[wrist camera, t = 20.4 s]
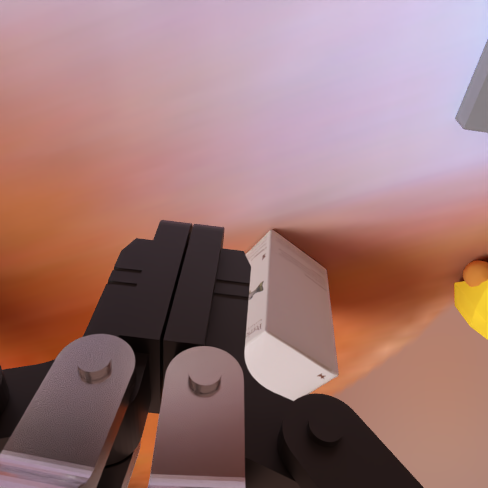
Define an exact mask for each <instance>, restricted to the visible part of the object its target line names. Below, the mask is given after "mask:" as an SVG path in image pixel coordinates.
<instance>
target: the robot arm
mask: <svg viewBox="0 0 488 488" xmlns="http://www.w3.org/2000/svg"><path fill="white" fill-rule="evenodd" d="M223 239H224V227H216V226H208V225H200V224H194V225H193V226H192V224H190V223H182V222H174V221H166V220H161V221H160V223H159V226H158V229H157V231H156V234H155V237H154V240H146V239H138V238H136V239H135V240H134V241H133V242H131V243H130V244H129V245H128V246H127V247H125V248H124V249H123V250H122V251H121V253H120V255H119V257H118V259H117V262H116V264H115V266H114V270H113V271H112V273H111V275H110V277H109V280H108V284H106V286H105V289H104V291H103V293H102V295H101V298H100V300H99V302H98V304H97V307H96V309H95V311H94V313H93V316H92V318H91V320H90V322H89V325H88V327H87V329H86V331H85V334H84V335H83V337H82V338H79V339H77V340H75V341H73V342H71V343H70V344H69V345H67V346H66V347H65V348H64V349H63V350H62V351H61V352H60V353H59V355H58V356H57V358H56V359H54V360H52V361H49V362H46V363H42V364H37V365H31V366H24V367H18V368H12V369H5V370H2V369H1V366H0V488H127V486H128V483H129V480H130V477H131V474H132V471H133V468H134V465H135V462H136V459H137V456H138V453H139V450H140V444H141V437H142V434H143V430H144V426H145V422H146V418H147V414H148V412H149V413H158V414H159V420H158V427H157V433H156V440H155V447H154V454H153V460H152V467H151V474H150V480H149V485H148V488H423V486H422V485H421V484H420V483H419V482H418V481H417V480H416V479H415V478H414V477H413V475H412V474H411V473H410V472H409V471H408V470H407V469H406V468H405V467H404V466H403V464H401V462H400V461H399V460H398V459H397V458H396V457H395V456H394V455H393V453H392V452H391V451H390V450H389V449H388V448H387V447H386V446H385V445H384V444H383V443H382V441H381V440H380V439H379V438H378V437H377V436H376V435H375V434H374V433H373V432H372V430H371V429H370V428H369V427H368V426H367V425H366V424H365V423H364V422H363V421H362V419H361V418H360V417H359V416H358V415H357V414H356V413H355V412H354V411H353V410H352V409H351V408H350V407H349V406H348V405H347V404H345V403H344V402H342V401H340V400H339V399H337V398H334V397H332V396H329V395H324V394H308V395H304V396H302V397H299V398H297V399H296V400H295V401H293V400H290V399H288V398H286V397H283V396H281V395H279V394H277V393H274V392H272V391H270V390H268V389H267V388H265V387H264V386H262V385H261V384H260V383H259V382H257V381H256V380H255V378H254V377H253V376H252V375H251V373H250V372H249V370H248V368H247V365H246V362H245V354H244V351H245V339H246V326H247V313H248V299H249V288H250V276H251V265H250V263H249V261H248V259H247V257H246V255H245V253H244V251H238V250H230V249H223Z"/></svg>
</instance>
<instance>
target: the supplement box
mask: <svg viewBox="0 0 488 488" xmlns="http://www.w3.org/2000/svg"><path fill="white" fill-rule="evenodd" d="M245 255H246V257H247V259H248V261H249V263H250V265H251V276H250V288H249V299H248V313H247V326H246V339H245V351H244V354H245V362H246V365H247V368H248V370H249V372H250V373H251V375H252V376H253V377H254V378H255V380H256V381H257V382H259V383H260V384H261V385H262V386H264V387H265V388H267V389H268V390H270V391H272V392H274V393H277V394H279V395H281V396H283V397H286V398H288V399H290V400H293V401H295V400H296V399H297V398H299V397H302V396H304V395H308V394H309V393H311V392H312V391H314V390H316V389H317V388H319V387H320V386H322V385H324V384H325V383H327V382H329V381H330V380H332V379H333V378H335V377H337V376H338V375H339V374H338V365H337V356H336V347H335V338H334V330H333V320H332V311H331V303H330V294H329V285H328V276H327V269H325V268H324V267H323V266H321V265H320V264H319V263H318V262H316V261H315V260H313V259H312V258H311V257H309V256H308V255H307V254H305V253H304V252H303V251H301V250H300V249H299V248H297V247H296V246H295V245H293V244H292V243H290V242H289V241H288V240H286V239H285V238H284V237H282V236H281V235H280V234H278V233H277V232H275V231H274V230H270V231H269V232H268V233H267V234H266V235H265V236H264V237H263V238H262V239H261V240H260V241H259V242H258V243H257V244H256V245H255V246H254V247H253V248H252V249H251V250H250V251H249V252H247V253H246V254H245Z"/></svg>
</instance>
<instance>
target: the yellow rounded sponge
mask: <svg viewBox="0 0 488 488" xmlns="http://www.w3.org/2000/svg"><path fill="white" fill-rule="evenodd" d="M463 278H464V280H465V281H462V282H456V283H454V298H455V307H456V308H457V309H458V311H459V312H460V313H461V315H462V316H463V317H464V319H465V320H466V321H467V323H468V324H469V325H470V327H472V328H473V329H474V330H476V331H477V332H478V333H480V334H481V335H482V336H484V337H485V338H486V339H488V262H485V261H480V260H477V261H472V262H471V263H469V264H468V265H466V267H465V269H464V271H463Z"/></svg>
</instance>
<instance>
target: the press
mask: <svg viewBox="0 0 488 488" xmlns="http://www.w3.org/2000/svg"><path fill="white" fill-rule="evenodd" d="M455 119H456V121H457V122H458V123H459V124H460V125H461V127H462V128H463V129H466V130H473V131H480V132H487V133H488V40H487V43H486V45H485V48H484V50H483V52H482V55H481V57H480V60H479V62H478V65H477V67H476V69H475V72H474V74H473V77H472V79H471V82H470V84H469V86H468V89H467V91H466V94H465V96H464V98H463V101H462V103H461V106H460V108H459V111H458V113H457V115H456V118H455Z"/></svg>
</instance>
